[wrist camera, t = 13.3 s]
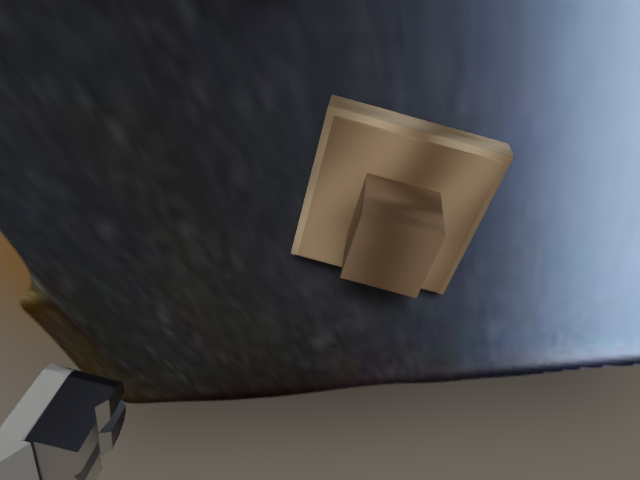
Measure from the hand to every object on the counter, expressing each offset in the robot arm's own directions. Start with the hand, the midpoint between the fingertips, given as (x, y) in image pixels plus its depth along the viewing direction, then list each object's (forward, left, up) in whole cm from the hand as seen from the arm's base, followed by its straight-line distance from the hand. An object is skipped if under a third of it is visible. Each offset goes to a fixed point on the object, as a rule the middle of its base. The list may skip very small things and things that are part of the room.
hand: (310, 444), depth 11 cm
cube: (-4, +8, -24) cm, 25 cm away
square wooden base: (-4, +8, -26) cm, 28 cm away
